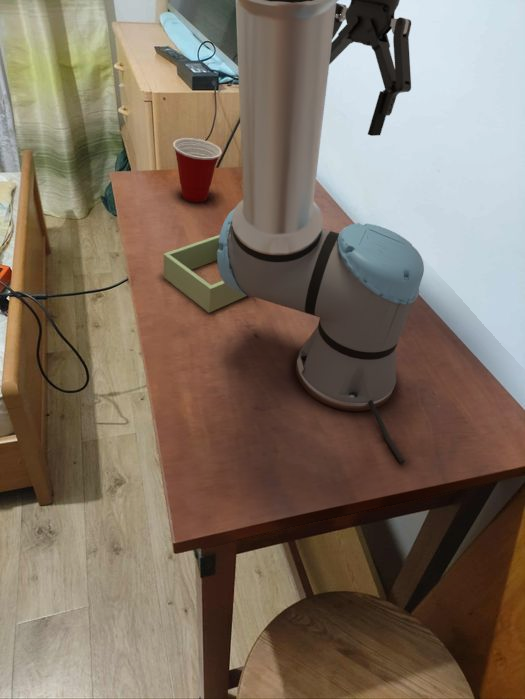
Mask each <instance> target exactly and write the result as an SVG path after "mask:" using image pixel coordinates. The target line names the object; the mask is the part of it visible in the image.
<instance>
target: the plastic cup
mask: <svg viewBox="0 0 525 699" xmlns="http://www.w3.org/2000/svg"><path fill="white" fill-rule="evenodd" d="M172 143H173V144H172V147H173V149H174V151H175V157H176V162H177V169H178V176H179V177H178V178H179V184H180V188H181V196H182V198H183V199H184V200H186V201H188V202H191V203H202V202H205V201H206V200H207V199H208V196H209V193H210V188H211V185H212V181H213V177H214V172H215V168H216V166H217V163H218V160H219V158H220V157H221V156H222V154H223V152H222V149H221V148H220V147H219V146H218V145H217V144H215V143H213V142H211V141H208V140H204V139H200V138H194V137H182V138H178V139H175V141H173V142H172Z"/></svg>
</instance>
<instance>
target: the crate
mask: <svg viewBox="0 0 525 699" xmlns="http://www.w3.org/2000/svg"><path fill="white" fill-rule="evenodd" d="M219 236H220V234H217V235H215V236H212V237H209V238H206V239H203V240H200V241H197V242H194V243H191V244H188V245H185V246H182V247H179V248H177V249H174V250H171V251H167V252H165V253H163V260H162V262H163V279H165V280H166V281H167V282H169V283H170V284H171V285H173V286H174V287H175V288H176V289H178V290H179V291H180V292H181V293H183V294H184V295H185V296H186V297H188V298H189V299H190V300H192V302H194V303H196V304H197V305H198V306H199V307H200V308H202V309H203V310H205V311H206V312H207V313H212V312H215V311H216V310H218V309H221V308H223V307H226V306H227V305H230V304H232V303H234V302H236V301H239V300H242V299H243V298H245V297H247V296H246V295H244V294H243V293H241V292H239V291H236V290H234V289H231V288H230V287H228V286H227V285H226V284H225V283H224V282H223V280H221V281H218V282H215V283H213V284H211V283H209V282H208V281H206V280H205V279H203V278H202V277H201V276H199V275H198V274H197V273H196V272H195V271H193V270H194V269H197V268H200V267H203V266H206V265H207V264H210V263H213V262H216V261H217V250H218V249H219V246H220V244H219Z"/></svg>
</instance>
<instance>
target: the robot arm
mask: <svg viewBox="0 0 525 699" xmlns="http://www.w3.org/2000/svg"><path fill="white" fill-rule="evenodd" d="M399 4H400V0H350V3H349V6H347V5H346V4H343V3H339V0H235V12H236V14H235V15H236V43H237V70H238V72H237V73H238V74H237V75H238V94H239V95H238V96H239V99H238V100H239V125H240V126H239V128H240V150H241V151H240V153H241V155H240V156H241V178H242V179H241V180H242V182H241V183H242V199H241V200H240V201H239V202H238V203H237V205H235V208H233V209H231V211H230V212H229V213H228V215H227V216H226V217H225V220H224V222H223V224H222V226H221V229H220V233H219V235H220V236H219V244H220V246H219V249H218V250H217V260H216V261H217V263H216V264H217V268H218V273H219V276H220V279H221V281H223V282H224V283H225V284H226V285H227V286H228V287H230V288H231V289H234V290H236V291H239V292H241V293H243V294H244V295H246V296H245V297H250V298H256V299H259V300H262V301H266V302H269V303H272V304H275V305H278V306H282V307H285V308H289V309H292V310H294V311H298V312H301V313H304V314H307V315H311V316H313V317H316V318H319V320H318V324H317V326H316V328H315V329H314V331H313V332H312V333H311V335H310V336H309V337H308V339H307V340H306V342H305V343H304V344H303V345H302V347H301V349H300V350H299V353H298V355H297V359H296V364H295V373H296V377H297V379H298V382H299V383H300V385H301V386H302V388H303V389H304V390H305V391H306V393H307V394H309V395H310V396H311V397H312V398H314V399H315V400H316V401H319V402H320V403H322V404H323V405H326V406H328V407H331V408H333V409H337V410H340V411H346V412H366V411H372V413H373V416H374V418H375V420H376V423H377V424H378V427H379V429H380V431H381V433H382V435H383V437H384V439H385V441H386V443H387V445H388V447H389V448H390V450H391V451H392V453H393V455H394V456H395V458H396V459H397V460H398V462H399V464H404V463H405V462H406V460H405V458H404V457H403V455H402V454H401V452H400V451H399V449H398V448H397V447H396V445H395V442H394V441H393V440H392V438H391V436H390V434H389V433H388V430H387V427H386V425H385V424H384V421H383V419H382V417H381V415H380V413H379V411H378V409H377V408H379V407H381V406H382V405H384V404H385V403H386V402H388V400H389V399H390V398H391V396H392V394H393V391H394V389H395V386H396V384H397V352H396V349H397V346H398V343H399V341H400V340H401V336H402V333H403V330H404V328H405V325H406V322H407V320H408V317H409V314H410V312H411V310H412V306H413V303H414V302H415V301H416V300H417V298H418V297H419V294H420V286H421V282H422V280H423V277H424V274H425V273H424V272H425V264H424V260H423V258H422V256H421V254H420V252H419V250H418V249H417V248H415V247H414V246H413V244H412V243H411V242H410V241H409V240H407V239H406V238H404V237H403V236H402V235H400V234H398V233H397V232H395V231H392V230H391V229H388V228H387V227H386V228H385V227H382V226H380V225H377V224H372V223H364V224H362V223H358V222H357V223H351V224H349V225H347V226H345V227H344V228H343V229H342V230H341V231H340V232H335V231H332V230H328V229H325V228H323V225H324V218H323V214H322V211H321V209H320V207H319V205H317V203H316V202H315V201H314V200H315V191H316V184H317V175H318V174H317V173H318V165H319V157H320V148H321V140H322V130H323V122H324V113H325V105H326V96H327V89H328V88H327V87H328V78H329V71H330V65H331V64H332V63H333V62H334V61H335V60H336V59H338V57H339V56H340V55H341V54H342V53H343V51H344V50H346V49H347V47H348V46H350V45H351V44H353V43H358V44H362V45H364V46H369V47H371V49H372V51H373V52H374V55H375V59H376V62H377V65H378V69H379V72H380V76H381V80H382V83H383V87H384V89H383V90H382V91H379V93H378V97H377V101H376V104H375V107H374V111H373V114H372V117H371V120H370V124H369V128H368V131H367V135H368V136H373V137H374V136H376V137H377V136H381V135H382V131H383V128H384V124H385V120H386V117H387V116H391V114H392V112H393V109H394V105H395V103H396V99H397V97H398V95H399V94H402V93H409V92H410V91H411V90H412V74H411V58H410V56H411V55H410V42H409V41H410V39H409V38H410V33H411V28H412V20H411V19H409V18H406V17H398V18H395V12H396V10H397V8H398V7H399ZM344 21H346V24H345V25H344V27H342V29H341V30H340V28H341V26H342V25H343V22H344ZM339 30H340V31H339ZM390 31H391V33H392V34H393V38H392V40H393V41H392V43H393V56H392V53H391V50H390V47H391V43H390V40H389V36H388V34H389V32H390ZM336 34H338V35H337V37H335V36H336ZM333 39H334V40H333ZM393 59H394V61H393Z"/></svg>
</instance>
